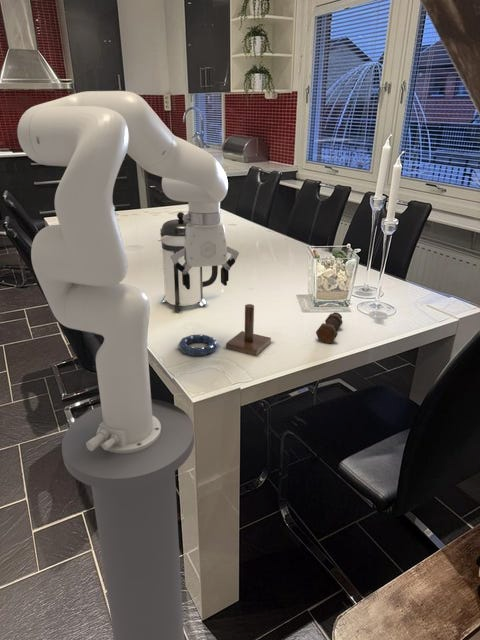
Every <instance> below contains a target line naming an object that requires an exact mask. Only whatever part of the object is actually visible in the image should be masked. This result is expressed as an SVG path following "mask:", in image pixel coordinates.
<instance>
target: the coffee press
mask: <svg viewBox="0 0 480 640" xmlns="http://www.w3.org/2000/svg"><path fill="white" fill-rule="evenodd" d="M183 215H185V214H184V212H182V211H179V212H178V213H177V214H176V217H177V218H176V219H169V220H167V221H165V222H164V223H163V224H162V226H161V228H160V229H159V230H160V231H159V232H160V233H159V235H158V237H157V238H158V239H157V241H158V242H161V249H162V262H163V282H164V283H163V284H164V296H163V298H162V299H161V302H162V303H163V304H166V303H169V304H171V305H173V306H174V313H181V312H180V311H181V309H182V307H186V306H193V305H196V304H198V305H199V306H201V307H202V308H205V307H206V306H207V301H206V300H205V299H204V296H203V295H204V294H203V293H204V291H203V290H204V289H203V288H205V287H209V286H211V285H213V284H214V283H215V282H216V280H217V278H218V274H219V272H218V271H219V265H216V266H211V275H210V278H209V279H207V280H204V281H203V267H191V269H190V270H189V271H188V273H189V275H190V289H186V287H185V285H184V286H183V283H182V272H181V271H180V270H179V269H177V268H176V266H175V265H174V263H173V262H172V260H171V258H170V257H171V255H173V254H175V253H176V252H178V251H180V250H181V249H183V248H184V242H185V231H186V225H187V224H189V222H188V221H186V220H183ZM178 262H179V263H180V264H181V265H183V264H184V263H185V259H184V256H182V257H180V258H179V259H178ZM165 300H166V301H165ZM201 301H202V302H201Z"/></svg>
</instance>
